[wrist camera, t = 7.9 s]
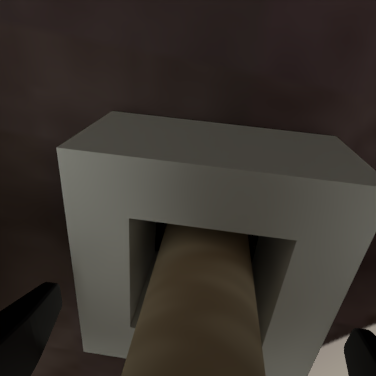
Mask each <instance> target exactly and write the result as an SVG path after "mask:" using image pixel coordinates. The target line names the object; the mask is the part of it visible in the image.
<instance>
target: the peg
mask: <svg viewBox="0 0 376 376" xmlns="http://www.w3.org/2000/svg"><path fill="white" fill-rule="evenodd" d="M121 376H266V375H265V367H264V359H263V351H262V343H261V335H260V327H259V319H258V311H257V303H256V295H255V287H254V279H253V271H252V263H251V256H250V248H249V240H248V234H243V233H236V232H228V231H221V230H213V229H206V228H198V227H191V226H183V225H176V224H168V223H167V225H166V229H165V232H164V235H163V238H162V242H161V245H160V248H159V252H158V255H157V258H156V262H155V265H154V268H153V272H152V275H151V278H150V282H149V285H148V288H147V292H146V295H145V298H144V301H143V305H142V308H141V311H140V315H139V318H138V321H137V325H136V328H135V331H134V335H133V338H132V341H131V345H130V348H129V351H128V355H127V358H126V361H125V364H124V368H123V371H122V374H121Z"/></svg>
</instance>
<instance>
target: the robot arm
mask: <svg viewBox="0 0 376 376" xmlns="http://www.w3.org/2000/svg"><path fill="white" fill-rule="evenodd" d="M61 307H62V298H61V292H60V287H59V285H58V284H57V283H51V282H45V283H43V284H41V285H39V286H38V287H36V288H35V289H33V290H32V291H30V292H29V293H27V294H26V295H24V296H23V297H21V298H20V299H18V300H17V301H15V302H14V303H12V304H11V305H9V306H8V307H6V308H5V309H3V310H2V311H0V376H31V374H32V373H33V371H34V369H35V367H36V365H37V363H38V361H39V359H40V357H41V355H42V353H43V350H44V348H45V346H46V343H47V341H48V338H49V336H50V334H51V331H52V329H53V327H54V324H55V322H56V319H57V317H58V315H59V312H60V310H61ZM344 354H345V359H346V364H347V369H348V374H349V376H376V336H375V335H374V334H373V333H372V332H371V331H369V330H366V329H360V328H355V329H353V330H352V332H351V334H350V336H349V338H348V339H347V341H346V343H345V346H344Z"/></svg>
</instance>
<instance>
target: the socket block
mask: <svg viewBox="0 0 376 376" xmlns="http://www.w3.org/2000/svg"><path fill="white" fill-rule="evenodd" d="M56 149H57V156H58V164H59V171H60V179H61V186H62V194H63V201H64V208H65V216H66V223H67V231H68V238H69V246H70V253H71V261H72V268H73V276H74V283H75V291H76V298H77V305H78V313H79V320H80V328H81V335H82V343H83V350H84V352H90V353H96V354H102V355H108V356H114V357H121V358H127V355H128V351H129V348H130V345H131V341H132V338H133V335H134V331H135V328H136V325H137V321H138V318H139V315H140V311H141V308H142V305H143V301H144V298H145V295H146V292H147V288H148V285H149V282H150V278H151V275H152V272H153V268H154V265H155V262H156V258H157V255H158V252H159V251H155V235H156V222H161V223H168V224H176V225H183V226H191V227H198V228H206V229H213V230H221V231H228V232H236V233H243V234H251V235H258V236H259V237H258V241H257V245H256V249H255V253H254V257H253V261H252V271H253V279H254V287H255V295H256V303H257V311H258V319H259V327H260V335H261V343H262V351H263V359H264V367H265V375H266V376H308V373H309V371H310V369H311V367H312V365H313V363H314V361H315V359H316V357H317V355H318V352H319V350H320V348H321V346H322V344H323V342H324V340H325V338H326V336H327V334H328V331H329V329H330V327H331V325H332V323H333V321H334V319H335V317H336V315H337V313H338V310H339V308H340V306H341V304H342V302H343V300H344V298H345V296H346V294H347V292H348V289H349V287H350V285H351V283H352V281H353V279H354V277H355V275H356V273H357V271H358V268H359V266H360V264H361V262H362V260H363V258H364V256H365V254H366V252H367V250H368V247H369V245H370V243H371V241H372V239H373V237H374V235H375V233H376V171H375V170H374V169H373V168H372V167H371V166H370V165H368V164H367V163H366V162H365V161H364V160H363V159H362V158H360V157H359V156H358V155H357V154H356V153H355V152H354V151H352V150H351V149H350V148H349V147H348V146H347V145H346V144H344V143H343V142H342V141H341V140H340V139H339V138H338V137H336V136H330V135H321V134H312V133H303V132H294V131H285V130H276V129H268V128H259V127H250V126H241V125H232V124H223V123H214V122H205V121H197V120H188V119H179V118H170V117H161V116H152V115H143V114H134V113H126V112H117V111H111V112H110V113H108V114H107V115H105V116H104V117H102V118H101V119H99V120H98V121H96V122H95V123H93V124H92V125H90V126H89V127H87V128H86V129H84V130H82V131H81V132H79V133H78V134H76V135H75V136H73V137H72V138H70V139H69V140H67V141H66V142H64V143H63V144H61V145H60V146H58V147H57V148H56Z"/></svg>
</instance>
